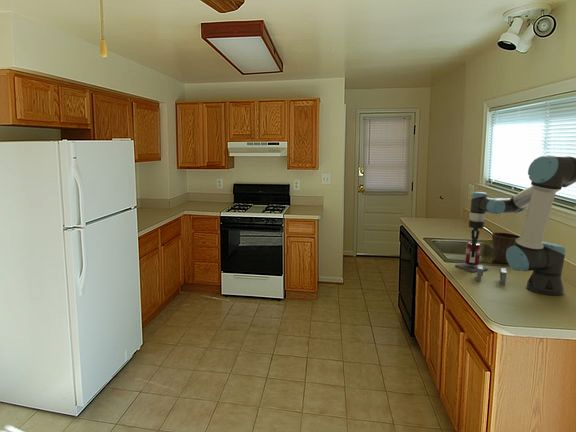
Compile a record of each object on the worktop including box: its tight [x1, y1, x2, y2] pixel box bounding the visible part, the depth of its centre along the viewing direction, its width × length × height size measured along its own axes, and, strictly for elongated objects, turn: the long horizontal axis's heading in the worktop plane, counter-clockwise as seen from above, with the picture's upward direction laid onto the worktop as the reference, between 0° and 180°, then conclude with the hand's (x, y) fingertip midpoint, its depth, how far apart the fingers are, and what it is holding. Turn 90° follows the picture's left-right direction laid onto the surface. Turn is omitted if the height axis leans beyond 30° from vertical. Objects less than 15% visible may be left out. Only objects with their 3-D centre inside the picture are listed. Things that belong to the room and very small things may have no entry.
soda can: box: [464, 241, 482, 266], centre depth 228 cm, size 7×7×12 cm
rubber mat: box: [454, 262, 489, 274], centre depth 229 cm, size 12×12×1 cm
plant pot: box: [491, 232, 521, 264], centre depth 244 cm, size 15×15×16 cm
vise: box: [476, 264, 508, 286], centre depth 208 cm, size 8×13×6 cm, turn 65°
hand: (472, 260), depth 228 cm, fingers closed on soda can, 7 cm apart
